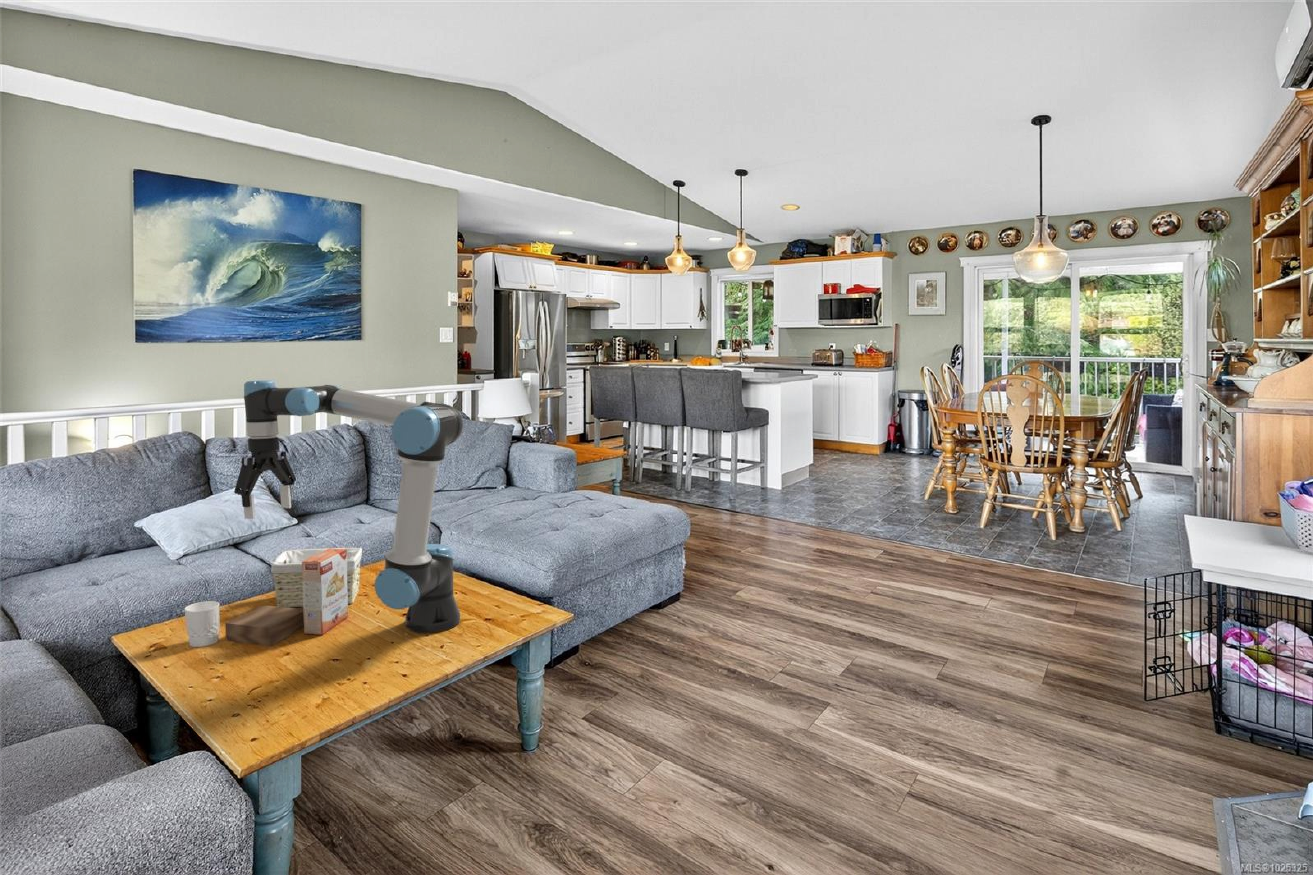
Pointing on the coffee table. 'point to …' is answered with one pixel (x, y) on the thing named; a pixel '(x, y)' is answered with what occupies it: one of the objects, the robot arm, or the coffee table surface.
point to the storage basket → (290, 575)
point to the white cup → (202, 623)
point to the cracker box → (324, 590)
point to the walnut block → (265, 625)
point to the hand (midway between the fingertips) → (268, 513)
